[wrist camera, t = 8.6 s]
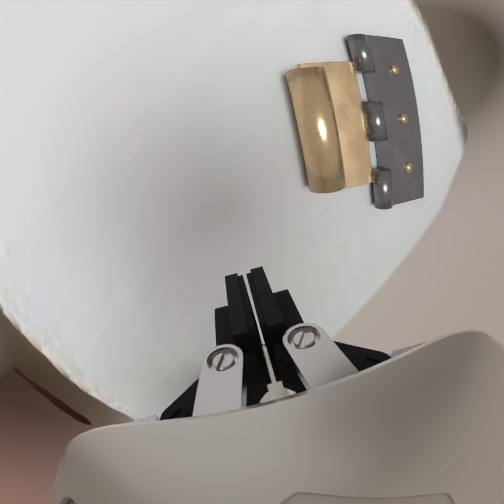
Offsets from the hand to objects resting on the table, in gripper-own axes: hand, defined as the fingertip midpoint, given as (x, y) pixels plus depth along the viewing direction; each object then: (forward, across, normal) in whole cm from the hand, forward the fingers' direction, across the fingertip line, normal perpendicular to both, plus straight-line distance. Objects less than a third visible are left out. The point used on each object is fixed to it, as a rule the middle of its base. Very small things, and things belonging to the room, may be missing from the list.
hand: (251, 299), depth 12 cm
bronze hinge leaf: (+21, -14, -6) cm, 26 cm away
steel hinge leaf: (+21, -24, -6) cm, 33 cm away
